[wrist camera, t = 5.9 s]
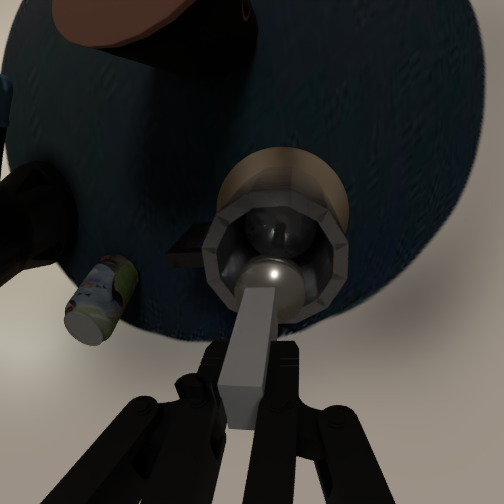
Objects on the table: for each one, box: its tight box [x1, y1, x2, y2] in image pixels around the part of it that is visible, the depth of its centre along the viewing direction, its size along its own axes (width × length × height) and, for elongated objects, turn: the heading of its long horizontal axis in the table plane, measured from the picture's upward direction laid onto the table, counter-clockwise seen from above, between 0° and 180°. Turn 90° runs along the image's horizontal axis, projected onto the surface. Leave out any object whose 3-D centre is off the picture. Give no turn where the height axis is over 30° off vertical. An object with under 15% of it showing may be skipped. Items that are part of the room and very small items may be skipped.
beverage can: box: [64, 254, 139, 346], centre depth 33 cm, size 6×7×12 cm
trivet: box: [217, 147, 349, 234], centre depth 32 cm, size 14×14×1 cm
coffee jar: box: [52, 0, 258, 80], centre depth 18 cm, size 11×11×18 cm
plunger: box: [234, 206, 317, 324], centre depth 23 cm, size 7×7×13 cm
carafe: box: [165, 166, 348, 323], centre depth 27 cm, size 13×10×12 cm
